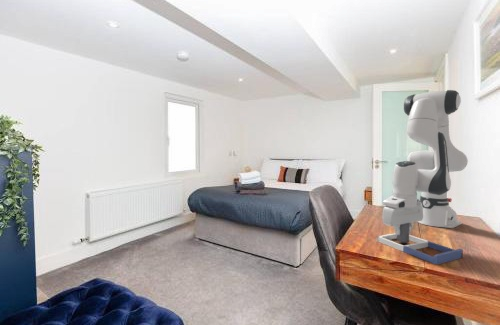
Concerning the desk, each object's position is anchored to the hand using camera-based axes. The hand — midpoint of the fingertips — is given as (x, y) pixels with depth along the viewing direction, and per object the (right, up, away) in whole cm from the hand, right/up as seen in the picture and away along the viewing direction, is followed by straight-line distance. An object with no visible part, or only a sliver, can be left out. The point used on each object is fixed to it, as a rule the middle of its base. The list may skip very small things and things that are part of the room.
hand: (402, 233), depth 106 cm
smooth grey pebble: (0, -3, 0) cm, 3 cm away
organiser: (+2, -5, -5) cm, 7 cm away
